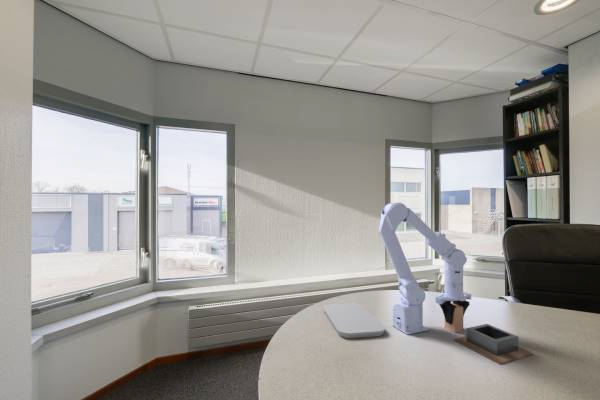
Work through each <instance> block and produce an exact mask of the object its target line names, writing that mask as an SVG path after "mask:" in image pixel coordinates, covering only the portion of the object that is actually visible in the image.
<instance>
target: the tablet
mask: <svg viewBox="0 0 600 400" xmlns="http://www.w3.org/2000/svg"><path fill="white" fill-rule="evenodd" d="M322 309H323V312H324V313H325V315H326V316H327V318H328V319H329V321H330V322H331V324H332V325H333V327H334V329H335V330H336V332H337V333H338V335H339V336H340V337H342V338H344V339H354V338H366V337H367V338H370V337H380V336H382V335H383V334H384V333H385V332H386V327H385V326H384V325H383V324H382V323H381V322H380V321H379V320H378V319H377V318H376V317H375V316H374V315H373V314H372V313H371V312H370V311H368V309H367V308H365V307H364V306H363V305H362V304H360V303H356V302H349V303H348V302H346V303H330V304H324V305H323V306H322Z"/></svg>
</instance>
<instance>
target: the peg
mask: <svg viewBox="0 0 600 400" xmlns="http://www.w3.org/2000/svg"><path fill="white" fill-rule="evenodd" d="M451 303H452V304H453V305H455V306H456V308H455V310H454V314H453V323H452V324H449V323H447V322H446V320H445V319H444V328H445V329H447V330H448V331H451V332H453V333H459V332H463V331H464V317H463V307H462V306H459V305H456V304H454V303H453V302H451Z"/></svg>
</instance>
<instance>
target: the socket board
mask: <svg viewBox="0 0 600 400" xmlns="http://www.w3.org/2000/svg"><path fill="white" fill-rule="evenodd" d="M454 342H457V343H458V344H460V345H462V346H464V347H466V348H468V349H469V350H471V351H474V352H476V353H478V354H479V355H481V356H483V357H485V358H487V359H488V360H490V361H493V362H494V363H496V364H498V365H503V364H507V363H509V362H510V363H511V362H514V361H517V360H520V359H523V358H527V357H530V356H533V355H534V353H533V352H532V351H530V350H527V349H525V348H523V347H520V346H519V336H518V335H515V334H514V333H511V332H508V331H506V330H504V329H500V328H498V327H496V326H493V325H491V324H489V323H486V324H485V323H484V324H480V325H475V326H471V327H466V336H461V337H456V338H454Z"/></svg>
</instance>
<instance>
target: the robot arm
mask: <svg viewBox="0 0 600 400" xmlns="http://www.w3.org/2000/svg"><path fill="white" fill-rule="evenodd" d="M401 223H408V224H409V225H411V226H412V227H413V228H414V229H415V230H416V231H417V232H419V233H420V234H421V235H422V236H424V238H426V244H427V245H428V246H429V247H430V248H431V249H433V251H435V253H437V254H438V255H439V256H440V257H441V260H442V261H444V263H443V264H444V266H443V267H444V277H443V278H444V279H443V280H444V282H443V285H444V286H443V287H444V290H443V291H444V293H442V294H440V295H438V296H435V303H436V304H438V305H439V306H440V308H441V311H442V313H443V317H444V321H445V320H446V322H447V323H449V324H452V323H453V314H454V310H455V308H456V306H455V305H453V304H452V303H454V304H456V305H459V306H462V307H463V318H464V317H465V316H464V315H465V313H466V311H467V309H468V308H469V306H470V305H471V304H470V301H468V300H472V293H471V292H464V265H465V264H466V263H467V260H468V257H466V254H465V252H464V251H463V250H462V249H458V248H457V247H456V246H457V245H456V243H453V242H451V241H450V240H449V239H447V238H446V237H447V235H446V234H445V233H443V232H440V231H434V230H433V229H432V228H430V226H428V225H427V224H426V223H425V221H423V219H421V218H420V217H419V216H418V215H417V214H416V213H415V212H414V211H413V210H412V209H411V208H410V207H408V206H406V205H405V204H404V203H403V202H389V203H387V204H386V205H384V207H383V209H382V210H381V211H380V221H379V227H378V231H379V234H380V237H381V240H382V242H383V244H384V247H385V249H386V251H387V253H388V256H389V259H390V261H391V264H392V266H393V268H394V270H395V273H396V276H397V281H398V291H399V293H400V294H401V296H400V300H399V302H398V303H395V304H394V305H393V306H392V307H393V309H392V323H391V326H392V327H394V328H396V329H397V330H399V331H400V332H402V333H404V334H406V335H412V334H417V333H421V332H422V333H423V332H427V331H429V328H428V327H427V326H425V325H424V320H423V319H424V318H423V317H424V315H423V314H424V313H423V312H424V311H423V310H424V309H423V308H424V307H423V305H424V304H423V303H424V302H425V300H426V292H425V289H423V288H422V287H421V286H420V284H419V283H418V280H417V279H416V278H415V276H414V275H413V273H412V270H411V267H410V265H409V263H408V261H407V258H406V255H405V253H404V251H403V248H402V246H401V244H400V242H399V238H398V236H397V233H396V231H397V229H398V227H399V225H400V224H401Z"/></svg>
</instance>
